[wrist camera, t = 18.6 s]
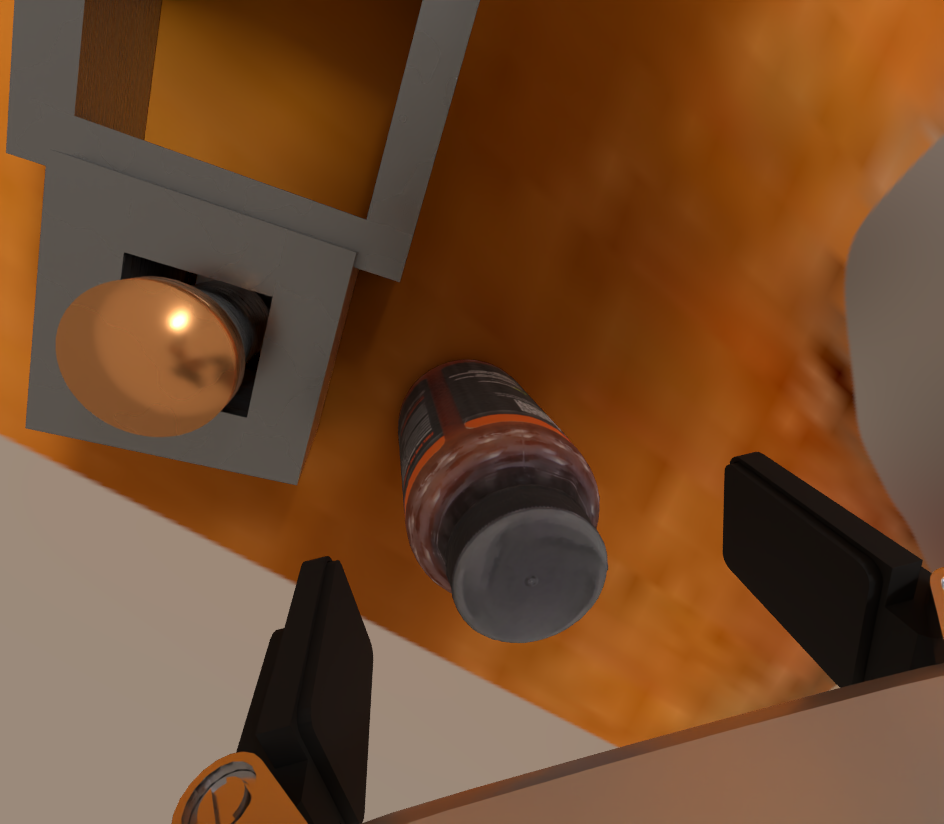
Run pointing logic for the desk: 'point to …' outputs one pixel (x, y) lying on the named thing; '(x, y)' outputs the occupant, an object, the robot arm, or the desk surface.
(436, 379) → the supplement bottle
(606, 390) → the desk surface
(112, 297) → the plunger
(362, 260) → the housing
